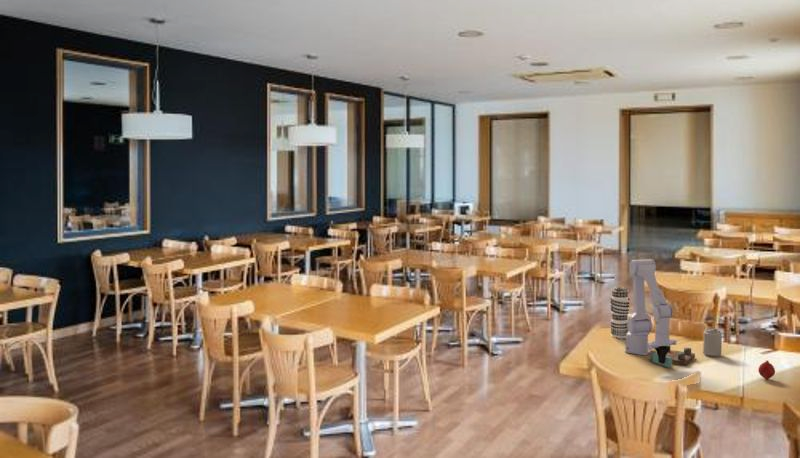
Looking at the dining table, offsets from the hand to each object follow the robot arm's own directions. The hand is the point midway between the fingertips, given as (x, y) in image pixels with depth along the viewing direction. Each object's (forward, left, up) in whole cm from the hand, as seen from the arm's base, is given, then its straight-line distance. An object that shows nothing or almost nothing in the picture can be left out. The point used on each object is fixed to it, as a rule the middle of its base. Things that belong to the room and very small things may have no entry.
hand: (661, 362), depth 287 cm
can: (+13, +29, -2) cm, 32 cm away
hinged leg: (-1, +3, -1) cm, 3 cm away
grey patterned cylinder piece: (-33, +38, -2) cm, 50 cm away
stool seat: (+1, +13, -2) cm, 13 cm away
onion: (+39, +6, -2) cm, 40 cm away
